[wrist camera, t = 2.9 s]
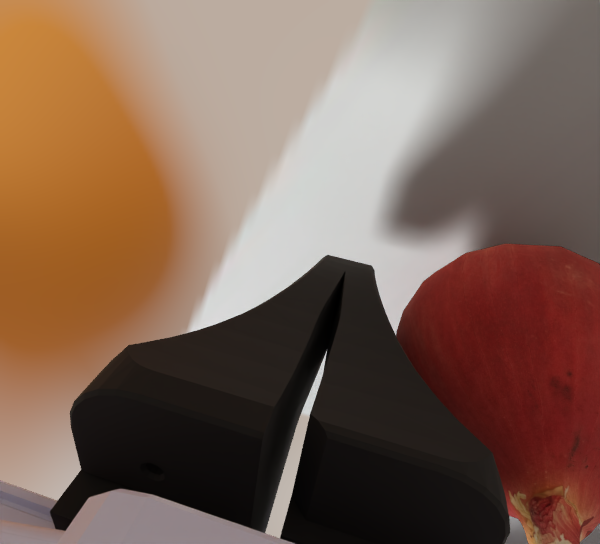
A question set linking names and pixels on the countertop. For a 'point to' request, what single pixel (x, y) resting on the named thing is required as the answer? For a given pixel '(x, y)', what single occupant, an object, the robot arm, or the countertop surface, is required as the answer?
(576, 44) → the countertop surface
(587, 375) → the onion
